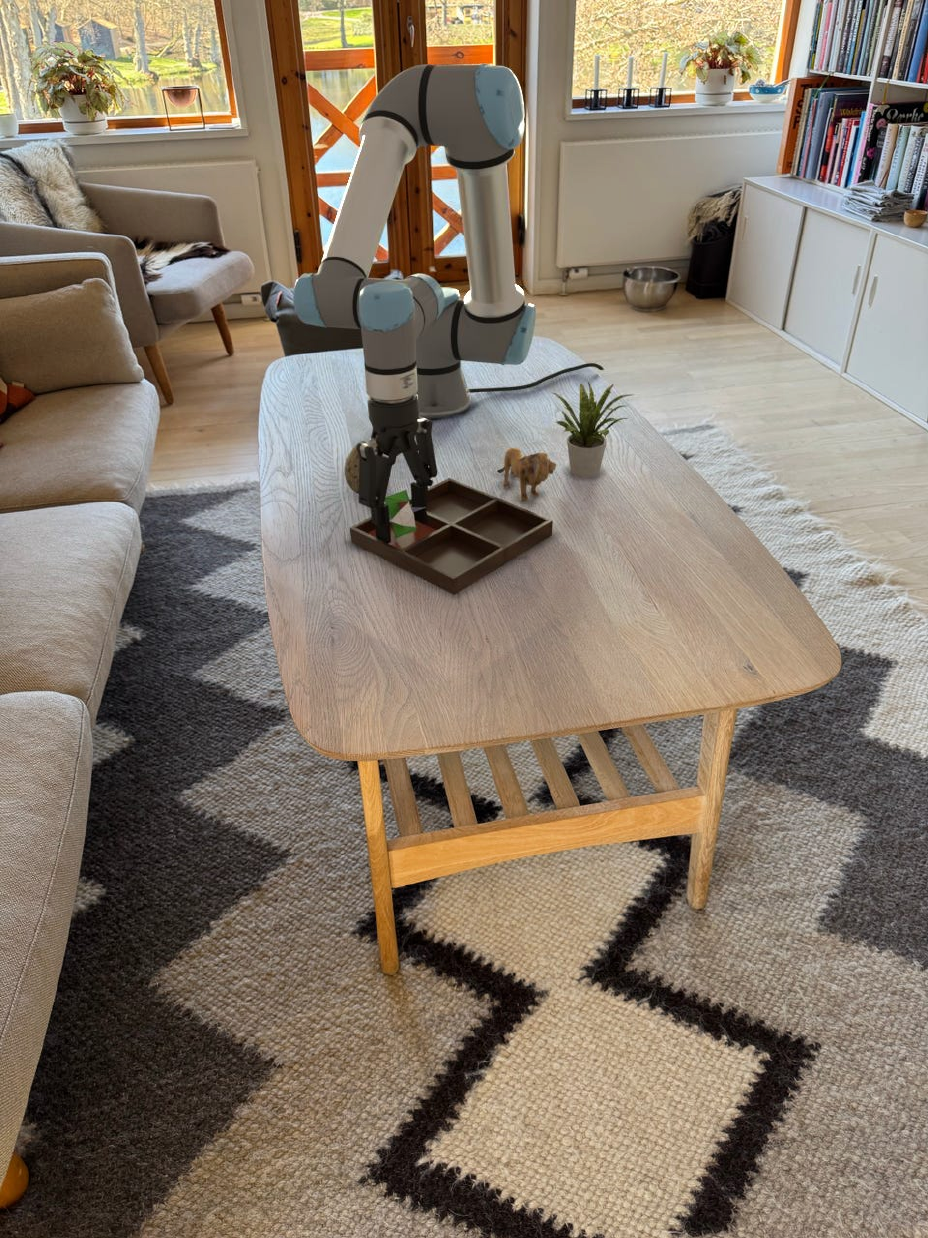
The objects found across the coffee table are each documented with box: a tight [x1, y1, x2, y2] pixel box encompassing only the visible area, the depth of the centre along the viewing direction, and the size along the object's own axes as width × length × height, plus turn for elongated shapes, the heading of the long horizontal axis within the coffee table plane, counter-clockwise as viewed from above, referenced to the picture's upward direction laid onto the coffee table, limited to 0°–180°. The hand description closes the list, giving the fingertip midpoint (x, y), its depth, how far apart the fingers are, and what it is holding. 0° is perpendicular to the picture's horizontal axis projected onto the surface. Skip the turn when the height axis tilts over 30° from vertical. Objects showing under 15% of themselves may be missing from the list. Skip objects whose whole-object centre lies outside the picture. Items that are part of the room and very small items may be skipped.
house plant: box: [550, 381, 634, 479], centre depth 166 cm, size 14×14×16 cm
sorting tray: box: [349, 477, 554, 596], centre depth 152 cm, size 23×23×3 cm
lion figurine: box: [496, 446, 558, 502], centre depth 164 cm, size 15×5×9 cm, turn 34°
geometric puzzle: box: [384, 489, 425, 539], centre depth 150 cm, size 7×7×8 cm
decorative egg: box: [344, 440, 376, 495], centre depth 163 cm, size 7×7×10 cm
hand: (402, 530), depth 151 cm, fingers closed on geometric puzzle, 7 cm apart
